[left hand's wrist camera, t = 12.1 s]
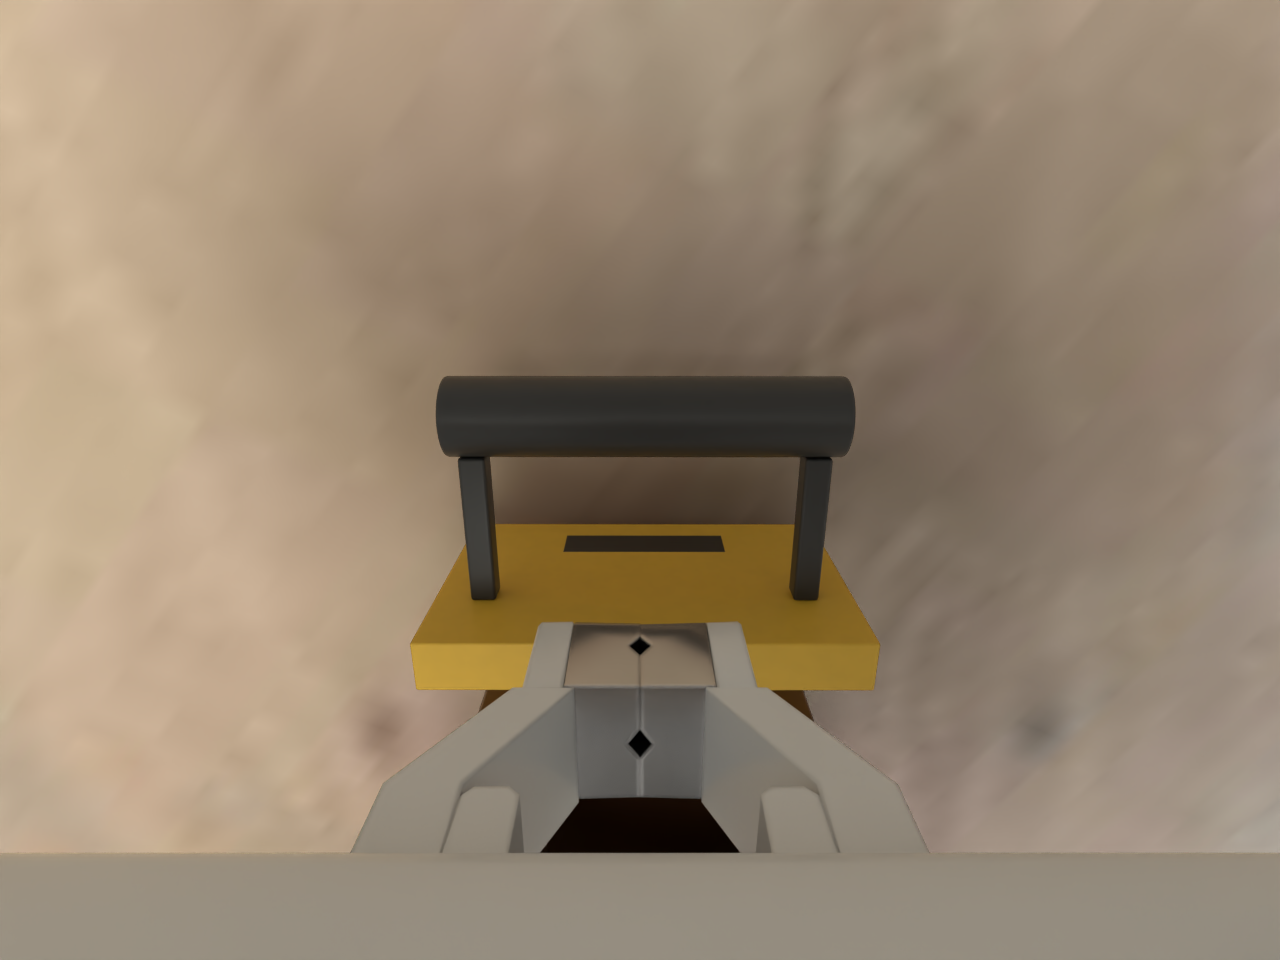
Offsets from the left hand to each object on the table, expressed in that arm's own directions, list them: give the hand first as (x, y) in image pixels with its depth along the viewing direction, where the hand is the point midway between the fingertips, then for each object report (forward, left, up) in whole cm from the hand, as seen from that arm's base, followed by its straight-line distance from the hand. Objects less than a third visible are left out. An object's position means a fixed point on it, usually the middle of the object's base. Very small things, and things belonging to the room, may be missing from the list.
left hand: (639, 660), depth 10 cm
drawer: (+7, +3, -10) cm, 13 cm away
